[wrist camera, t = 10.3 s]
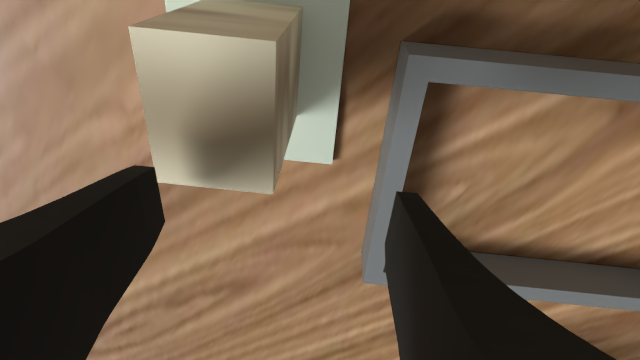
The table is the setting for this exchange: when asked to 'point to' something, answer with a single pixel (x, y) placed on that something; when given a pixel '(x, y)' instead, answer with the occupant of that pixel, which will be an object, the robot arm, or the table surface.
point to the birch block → (220, 91)
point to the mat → (313, 76)
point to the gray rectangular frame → (512, 74)
